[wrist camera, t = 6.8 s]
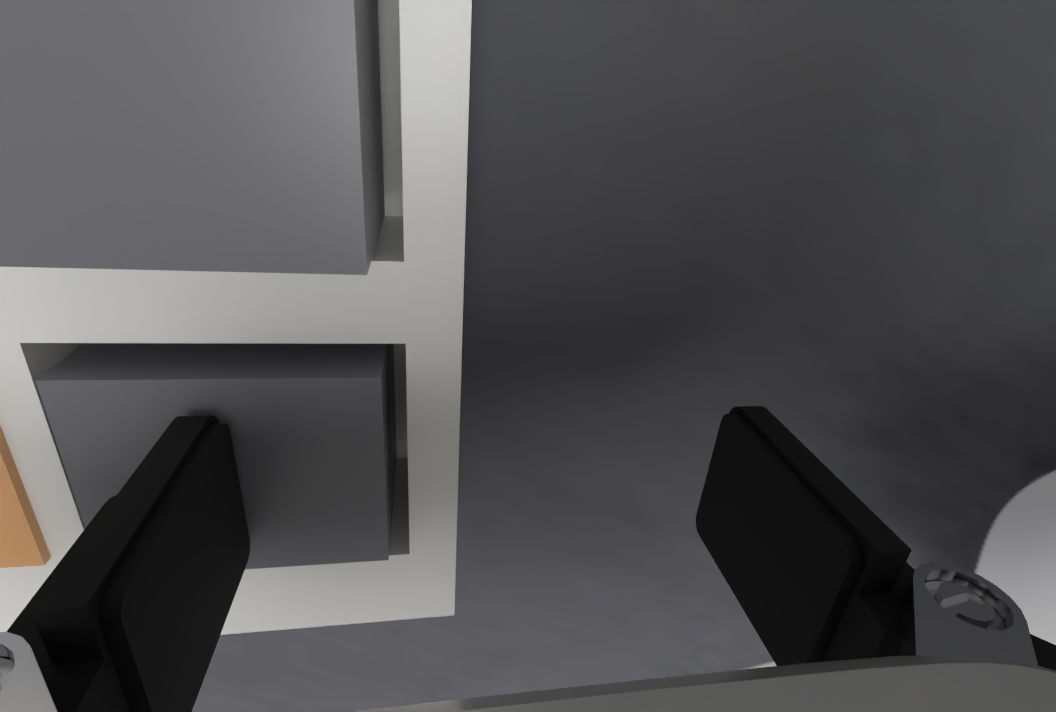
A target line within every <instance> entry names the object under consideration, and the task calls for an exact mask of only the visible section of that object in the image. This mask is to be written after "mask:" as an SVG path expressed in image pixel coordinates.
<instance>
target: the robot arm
mask: <svg viewBox="0 0 1056 712" xmlns="http://www.w3.org/2000/svg"><path fill="white" fill-rule="evenodd" d="M696 527H697V531H698V533H699V536H700V537H701V539H702V541H703V542H704V544H705V546H706V547H707V549H708V551H709V552H710V554H711V556H712V557H713V559H714V561H715V563H716V564H717V566H718V568H719V569H720V571H721V573H722V574H723V576H724V578H725V579H726V581H727V583H728V584H729V586H730V588H731V589H732V591H733V593H734V595H735V596H736V598H737V600H738V601H739V603H740V605H741V606H742V608H743V610H744V611H745V613H746V615H747V616H748V618H749V620H750V621H751V623H752V625H753V626H754V628H755V630H756V632H757V633H758V635H759V637H760V638H761V640H762V642H763V643H764V645H765V647H766V648H767V650H768V652H769V653H770V655H771V657H772V658H773V660H774V662H775V663H776V665H777V666H775V667H765V668H755V669H745V670H735V671H724V672H714V673H704V674H694V675H684V676H674V677H665V678H655V679H646V680H636V681H626V682H617V683H607V684H598V685H588V686H579V687H569V688H560V689H551V690H541V691H532V692H523V693H513V694H504V695H495V696H485V697H476V698H467V699H458V700H449V701H440V702H431V703H422V704H413V705H404V706H395V707H386V708H378V709H369V710H360V711H351V712H1056V645H1054V644H1051V643H1049V642H1047V641H1045V640H1042V639H1040V638H1038V637H1036V636H1033V635H1031V634H1030V633H1029V629H1028V625H1027V621H1026V619H1025V617H1024V615H1023V613H1022V611H1021V609H1020V608H1019V607H1018V606H1017V605H1016V603H1015V602H1014V601H1013V600H1012V599H1011V598H1010V597H1009V596H1008V595H1007V594H1005V593H1004V592H1003V591H1002V590H1001V589H1000V588H998V587H997V586H996V585H994V584H993V583H991V582H989V581H988V580H986V579H984V578H983V577H981V576H979V575H977V574H975V573H973V572H971V571H968V570H966V569H964V568H961V567H958V566H954V565H951V564H947V563H939V562H929V563H923V564H921V565H919V566H918V567H917V568H915V570H914V569H913V568H912V567H911V566H910V565H909V564H908V563H907V562H906V560H907V558H908V556H909V554H910V552H911V549H910V548H909V547H908V546H907V545H906V544H905V543H904V542H903V541H902V540H901V539H900V538H899V537H898V536H897V535H896V534H895V533H894V532H893V531H892V530H890V529H889V528H888V527H887V526H886V525H885V524H884V523H883V522H882V521H881V520H880V519H879V518H878V517H877V516H876V515H875V514H874V513H873V512H872V511H871V510H870V509H869V508H868V507H867V506H866V505H865V504H864V503H863V502H862V501H861V500H860V499H859V498H858V497H857V496H856V495H855V494H854V493H853V492H851V491H850V490H849V489H848V488H847V487H846V486H845V485H844V484H843V483H842V482H841V481H840V480H839V479H838V478H837V477H836V476H835V475H834V474H833V473H832V472H831V471H830V470H829V469H828V468H827V467H826V466H825V465H824V464H823V463H822V462H821V461H820V460H819V459H818V458H817V457H816V456H815V455H813V454H812V453H811V452H810V451H809V450H808V449H807V448H806V447H805V446H804V445H803V444H802V443H801V442H800V441H799V440H798V439H797V438H796V437H795V436H794V435H793V434H792V433H791V432H790V431H789V430H788V429H787V428H786V427H785V426H784V425H783V424H782V423H781V422H780V421H779V420H778V419H777V418H775V417H774V416H773V415H772V414H771V413H770V412H769V411H768V410H767V409H766V408H764V407H761V406H746V407H734V408H732V409H731V411H730V412H729V414H726V415H724V416H723V418H722V420H721V424H720V427H719V431H718V435H717V439H716V443H715V446H714V450H713V454H712V458H711V462H710V465H709V469H708V473H707V477H706V481H705V484H704V488H703V492H702V496H701V500H700V503H699V507H698V511H697V515H696ZM249 553H250V538H249V532H248V527H247V521H246V515H245V510H244V504H243V499H242V493H241V488H240V482H239V477H238V471H237V465H236V460H235V454H234V449H233V443H232V438H231V432H230V428H229V426H228V425H227V424H219V422H218V420H217V418H216V417H215V416H178V417H176V418H175V419H174V420H173V421H172V422H171V423H170V425H169V426H168V427H167V429H166V430H165V431H164V433H163V434H162V435H161V437H160V438H159V439H158V441H157V442H156V443H155V445H154V446H153V447H152V449H151V450H150V451H149V453H148V454H147V455H146V457H145V458H144V459H143V461H142V462H141V463H140V465H139V466H138V467H137V469H136V470H135V471H134V473H133V474H132V475H131V477H130V478H129V479H128V481H127V482H126V483H125V485H124V486H123V487H122V489H121V490H120V491H119V493H118V494H117V495H115V496H113V497H111V498H110V499H109V500H108V501H107V502H106V503H105V504H104V505H103V506H102V507H101V509H100V510H99V511H98V512H97V514H96V515H95V516H94V518H93V519H92V520H91V522H90V523H89V524H88V526H87V527H86V528H85V529H84V531H83V532H82V533H81V535H80V536H79V537H78V539H77V540H76V541H75V543H74V544H73V545H72V546H71V548H70V549H69V550H68V552H67V553H66V554H65V556H64V557H63V558H62V560H61V561H60V562H59V563H58V565H57V566H56V567H55V569H54V570H53V571H52V573H51V574H50V575H49V577H48V578H47V579H46V580H45V582H44V583H43V584H42V586H41V587H40V588H39V590H38V591H37V592H36V594H35V595H34V596H33V597H32V599H31V600H30V601H29V603H28V604H27V605H26V607H25V608H24V609H23V611H22V612H21V613H20V615H19V616H18V617H17V618H16V620H15V621H14V622H13V624H12V625H11V626H10V628H9V629H8V630H7V632H0V712H191V711H192V709H193V706H194V703H195V701H196V698H197V695H198V693H199V690H200V687H201V685H202V682H203V679H204V677H205V674H206V671H207V669H208V666H209V663H210V661H211V658H212V655H213V653H214V650H215V647H216V645H217V642H218V639H219V637H220V634H221V631H222V629H223V626H224V623H225V621H226V618H227V615H228V613H229V610H230V607H231V605H232V602H233V599H234V597H235V594H236V591H237V589H238V586H239V583H240V581H241V578H242V575H243V573H244V570H245V567H246V565H247V562H248V559H249Z"/></svg>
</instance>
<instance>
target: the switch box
mask: <svg viewBox="0 0 1056 712" xmlns="http://www.w3.org/2000/svg"><path fill="white" fill-rule="evenodd" d="M471 11H472V0H378V25H379V56H380V86H381V117H382V147H383V177H384V208H385V217H384V220H383V224H382V227H381V230H380V234H379V237H378V240H377V244H376V247H375V250H374V254H373V257H372V260H371V264H370V267H369V270H368V274H367V275H344V274H300V273H257V272H214V271H171V270H127V269H84V268H41V267H0V632H7V630H8V629H9V628H10V626H11V625H12V624H13V622H14V621H15V620H16V618H17V617H18V616H19V615H20V613H21V612H22V611H23V609H24V608H25V607H26V605H27V604H28V603H29V601H30V600H31V599H32V597H33V596H34V595H35V594H36V592H37V591H38V590H39V588H40V587H41V586H42V584H43V583H44V582H45V580H46V579H47V578H48V577H49V575H50V574H51V573H52V571H53V570H54V569H55V567H56V566H57V565H58V563H59V562H60V561H61V560H62V558H63V557H64V556H65V554H66V553H67V552H68V550H69V549H70V548H71V546H72V545H73V544H74V543H75V541H76V540H77V539H78V537H79V536H80V535H81V533H82V532H83V531H84V529H85V525H84V522H83V519H82V516H81V513H80V510H79V507H78V504H77V501H76V498H75V495H74V492H73V490H72V487H71V484H70V481H69V478H68V475H67V472H66V469H65V466H64V463H63V460H62V457H61V454H60V451H59V448H58V445H57V442H56V439H55V436H54V434H53V431H52V428H51V425H50V422H49V419H48V416H47V413H46V410H45V407H44V404H43V401H42V398H41V395H40V392H39V389H38V386H37V383H36V380H37V379H38V378H40V377H41V376H42V375H43V374H45V373H46V372H47V371H49V370H50V369H51V368H53V367H54V366H55V365H56V364H58V363H59V362H60V361H62V360H63V359H64V358H66V357H67V356H68V355H69V354H71V353H72V352H73V351H75V350H76V349H77V348H79V347H80V346H81V345H82V344H84V343H289V344H393V346H394V380H395V414H396V449H397V458H396V471H395V484H394V497H393V510H392V523H391V536H390V549H389V560H382V561H367V562H352V563H336V564H321V565H305V566H290V567H274V568H259V569H245V570H244V573H243V575H242V578H241V581H240V583H239V586H238V589H237V591H236V594H235V597H234V599H233V602H232V605H231V607H230V610H229V613H228V615H227V618H226V621H225V623H224V626H223V629H222V631H221V634H220V635H224V634H236V633H248V632H260V631H272V630H284V629H296V628H308V627H320V626H332V625H344V624H356V623H368V622H380V621H392V620H404V619H416V618H428V617H440V616H452V615H454V611H455V576H456V541H457V505H458V470H459V435H460V399H461V364H462V329H463V293H464V258H465V223H466V187H467V152H468V117H469V81H470V46H471Z"/></svg>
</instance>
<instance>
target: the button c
mask: <svg viewBox="0 0 1056 712" xmlns="http://www.w3.org/2000/svg"><path fill="white" fill-rule="evenodd" d="M36 383H37V386H38V389H39V392H40V395H41V398H42V401H43V404H44V407H45V410H46V413H47V416H48V419H49V422H50V425H51V428H52V431H53V434H54V436H55V439H56V442H57V445H58V448H59V451H60V454H61V457H62V460H63V463H64V466H65V469H66V472H67V475H68V478H69V481H70V484H71V487H72V490H73V492H74V495H75V498H76V501H77V504H78V507H79V510H80V513H81V516H82V519H83V522H84V525H85V528H86V527H87V526H88V524H89V523H90V522H91V520H92V519H93V518H94V516H95V515H96V514H97V512H98V511H99V510H100V509H101V507H102V506H103V505H104V504H105V503H106V502H107V501H108V500H109V499H110V498H111V497H113V496H115V495H117V494H118V493H119V491H120V490H121V489H122V487H123V486H124V485H125V483H126V482H127V481H128V479H129V478H130V477H131V475H132V474H133V473H134V471H135V470H136V469H137V467H138V466H139V465H140V463H141V462H142V461H143V459H144V458H145V457H146V455H147V454H148V453H149V451H150V450H151V449H152V447H153V446H154V445H155V443H156V442H157V441H158V439H159V438H160V437H161V435H162V434H163V433H164V431H165V430H166V429H167V427H168V426H169V425H170V423H171V422H172V421H173V420H174V419H175V418H176V417H178V416H215V417H216V418H217V420H218V422H219V424H227V425H228V426H229V428H230V432H231V438H232V443H233V449H234V454H235V460H236V465H237V471H238V477H239V482H240V488H241V493H242V499H243V504H244V510H245V515H246V521H247V527H248V532H249V538H250V553H249V559H248V562H247V565H246V567H245V569H259V568H274V567H290V566H305V565H321V564H336V563H352V562H367V561H382V560H389V549H390V536H391V523H392V510H393V497H394V484H395V471H396V458H397V449H396V414H395V380H394V346H393V344H289V343H84V344H82V345H81V346H80V347H79V348H77V349H76V350H75V351H73V352H72V353H71V354H69V355H68V356H67V357H66V358H64V359H63V360H62V361H60V362H59V363H58V364H56V365H55V366H54V367H53V368H51V369H50V370H49V371H47V372H46V373H45V374H43V375H42V376H41V377H40V378H38V379H37V380H36Z"/></svg>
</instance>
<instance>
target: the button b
mask: <svg viewBox="0 0 1056 712" xmlns="http://www.w3.org/2000/svg"><path fill="white" fill-rule="evenodd" d="M384 217H385V208H384V177H383V147H382V117H381V86H380V56H379V25H378V0H0V267H41V268H84V269H127V270H171V271H214V272H257V273H300V274H344V275H367V274H368V270H369V267H370V264H371V260H372V257H373V254H374V250H375V247H376V244H377V240H378V237H379V234H380V230H381V227H382V224H383V220H384Z"/></svg>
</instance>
